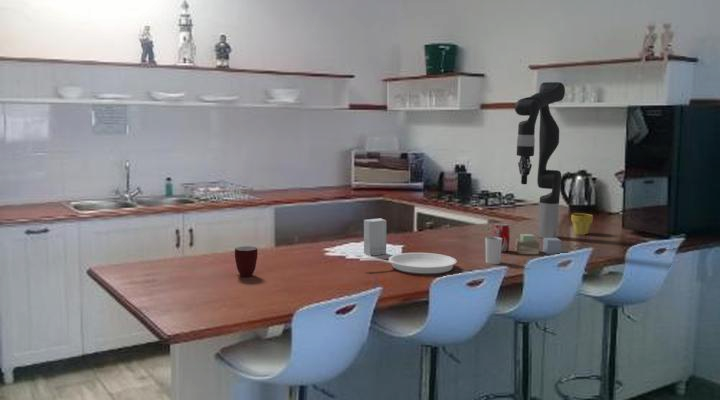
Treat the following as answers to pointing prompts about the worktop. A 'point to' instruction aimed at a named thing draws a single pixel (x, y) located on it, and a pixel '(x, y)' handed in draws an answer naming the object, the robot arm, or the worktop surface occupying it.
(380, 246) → the skincare box
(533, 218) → the worktop surface
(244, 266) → the mug
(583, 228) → the plant pot
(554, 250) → the slate block
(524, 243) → the button housing
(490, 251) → the drinking glass
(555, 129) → the robot arm
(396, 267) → the pan
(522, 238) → the green cap
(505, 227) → the soda can
